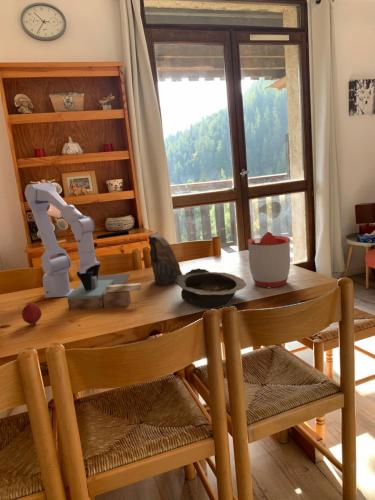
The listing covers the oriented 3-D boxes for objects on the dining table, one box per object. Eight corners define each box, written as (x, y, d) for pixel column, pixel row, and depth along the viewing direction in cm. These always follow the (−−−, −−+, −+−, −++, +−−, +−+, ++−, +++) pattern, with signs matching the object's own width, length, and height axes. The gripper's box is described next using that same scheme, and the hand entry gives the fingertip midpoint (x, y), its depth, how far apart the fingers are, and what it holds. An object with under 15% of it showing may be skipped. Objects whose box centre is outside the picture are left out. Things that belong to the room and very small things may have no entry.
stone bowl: (164, 296, 143) (163, 272, 142) (224, 288, 153) (224, 265, 151) (191, 318, 121) (191, 289, 119) (260, 307, 131) (261, 280, 129)
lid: (67, 299, 137) (65, 286, 136) (83, 283, 155) (81, 271, 153) (101, 297, 136) (99, 284, 135) (113, 281, 154) (112, 269, 153)
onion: (31, 329, 124) (27, 305, 122) (20, 326, 127) (15, 303, 125) (46, 322, 129) (42, 299, 127) (35, 319, 132) (31, 297, 130)
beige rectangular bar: (106, 292, 138) (105, 286, 137) (108, 290, 140) (107, 285, 139) (140, 290, 137) (139, 284, 136) (141, 288, 139) (140, 283, 138)
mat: (83, 291, 158) (83, 290, 158) (97, 276, 178) (97, 275, 178) (120, 288, 157) (120, 288, 157) (130, 274, 177) (130, 273, 177)
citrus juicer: (271, 273, 161) (269, 225, 157) (300, 284, 146) (299, 231, 141) (239, 281, 155) (236, 231, 150) (265, 293, 139) (263, 237, 135)
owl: (161, 288, 154) (156, 238, 150) (142, 282, 163) (136, 235, 159) (184, 280, 162) (180, 232, 158) (165, 275, 171) (160, 230, 167)
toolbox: (69, 310, 138) (67, 297, 137) (85, 293, 155) (83, 281, 154) (128, 307, 136) (126, 293, 135) (137, 290, 154) (136, 278, 153)
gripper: (91, 255, 135) (96, 292, 138) (102, 245, 149) (107, 280, 152) (71, 256, 135) (76, 293, 138) (84, 247, 149) (89, 281, 152)
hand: (91, 286), depth 145 cm, fingers open, 7 cm apart
